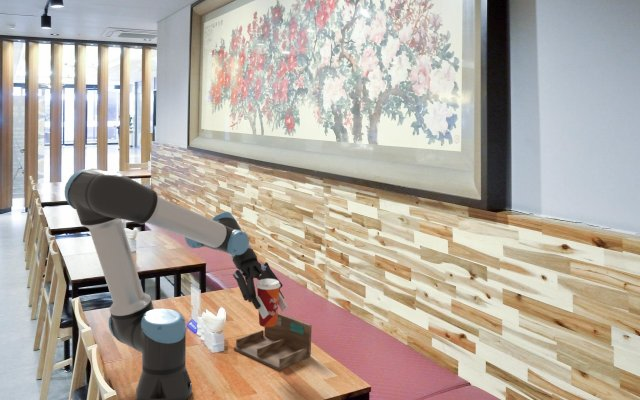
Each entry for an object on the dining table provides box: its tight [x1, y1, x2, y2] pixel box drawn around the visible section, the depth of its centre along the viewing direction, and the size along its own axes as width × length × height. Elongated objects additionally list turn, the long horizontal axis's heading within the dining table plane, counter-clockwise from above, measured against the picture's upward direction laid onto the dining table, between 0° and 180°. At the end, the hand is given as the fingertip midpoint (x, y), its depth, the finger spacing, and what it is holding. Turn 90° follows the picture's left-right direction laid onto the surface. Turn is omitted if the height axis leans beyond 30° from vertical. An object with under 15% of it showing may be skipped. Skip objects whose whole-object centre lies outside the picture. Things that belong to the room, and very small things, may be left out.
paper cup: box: [255, 279, 281, 328], centre depth 168 cm, size 8×8×14 cm
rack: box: [233, 312, 313, 371], centre depth 178 cm, size 15×22×11 cm
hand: (275, 312), depth 166 cm, fingers closed on paper cup, 8 cm apart
